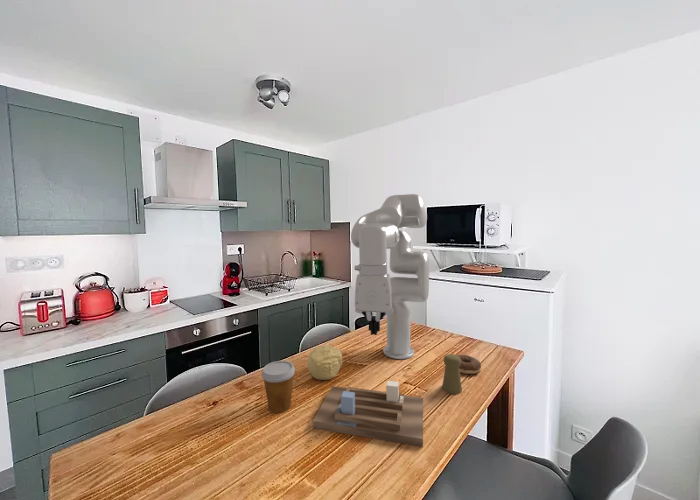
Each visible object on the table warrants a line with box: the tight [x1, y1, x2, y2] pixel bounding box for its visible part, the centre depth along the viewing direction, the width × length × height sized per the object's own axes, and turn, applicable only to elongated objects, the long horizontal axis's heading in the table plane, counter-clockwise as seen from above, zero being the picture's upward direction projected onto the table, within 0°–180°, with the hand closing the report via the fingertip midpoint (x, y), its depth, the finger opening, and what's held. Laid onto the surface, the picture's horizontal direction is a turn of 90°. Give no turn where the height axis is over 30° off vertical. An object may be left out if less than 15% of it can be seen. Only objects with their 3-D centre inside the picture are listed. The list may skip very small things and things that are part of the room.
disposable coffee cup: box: [261, 360, 296, 414], centre depth 85 cm, size 10×10×12 cm
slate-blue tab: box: [341, 391, 355, 415], centre depth 78 cm, size 3×3×6 cm
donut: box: [456, 354, 482, 375], centre depth 107 cm, size 11×11×4 cm
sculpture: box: [307, 344, 343, 381], centre depth 103 cm, size 12×12×11 cm
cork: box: [441, 353, 463, 395], centre depth 94 cm, size 6×6×11 cm
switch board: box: [312, 385, 424, 448], centre depth 81 cm, size 17×28×3 cm, turn 76°
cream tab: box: [386, 380, 400, 402], centre depth 83 cm, size 3×3×6 cm
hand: (374, 332), depth 83 cm, fingers closed
